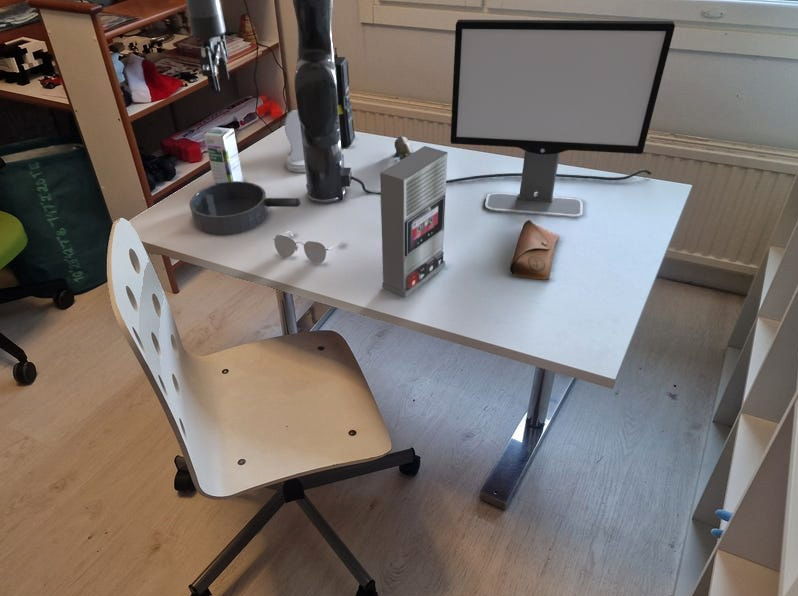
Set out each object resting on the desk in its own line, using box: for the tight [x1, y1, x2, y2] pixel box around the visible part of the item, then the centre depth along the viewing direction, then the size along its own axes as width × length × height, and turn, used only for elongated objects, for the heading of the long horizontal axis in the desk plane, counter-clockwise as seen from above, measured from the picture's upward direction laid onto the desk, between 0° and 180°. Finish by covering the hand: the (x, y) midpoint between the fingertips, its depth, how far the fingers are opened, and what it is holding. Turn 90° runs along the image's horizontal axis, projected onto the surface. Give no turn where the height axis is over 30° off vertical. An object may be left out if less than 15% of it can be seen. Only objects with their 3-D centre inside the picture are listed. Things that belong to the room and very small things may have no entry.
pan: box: [189, 180, 269, 236], centre depth 154 cm, size 18×18×5 cm
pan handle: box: [264, 197, 302, 208], centre depth 151 cm, size 9×2×2 cm, turn 83°
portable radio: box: [334, 47, 356, 148], centre depth 176 cm, size 8×6×25 cm
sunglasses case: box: [509, 219, 561, 281], centre depth 134 cm, size 18×7×7 cm
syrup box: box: [203, 126, 244, 185], centre depth 164 cm, size 6×6×14 cm
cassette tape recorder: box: [379, 145, 449, 298], centre depth 123 cm, size 14×6×25 cm, turn 139°
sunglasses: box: [272, 231, 344, 265], centre depth 140 cm, size 14×8×5 cm, turn 65°
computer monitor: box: [449, 19, 676, 218], centre depth 137 cm, size 41×8×40 cm, turn 74°
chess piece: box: [284, 109, 306, 173], centre depth 170 cm, size 10×10×15 cm
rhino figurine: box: [394, 135, 414, 160], centre depth 170 cm, size 4×14×6 cm, turn 10°
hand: (220, 86), depth 154 cm, fingers open, 8 cm apart
